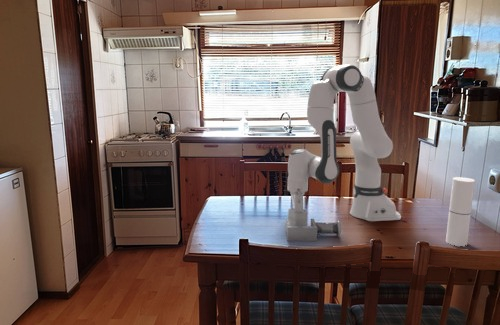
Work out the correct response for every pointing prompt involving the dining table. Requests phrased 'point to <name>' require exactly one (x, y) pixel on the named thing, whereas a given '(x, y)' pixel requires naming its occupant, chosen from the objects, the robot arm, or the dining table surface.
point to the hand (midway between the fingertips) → (296, 216)
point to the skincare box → (297, 218)
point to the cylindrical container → (460, 211)
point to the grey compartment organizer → (311, 230)
